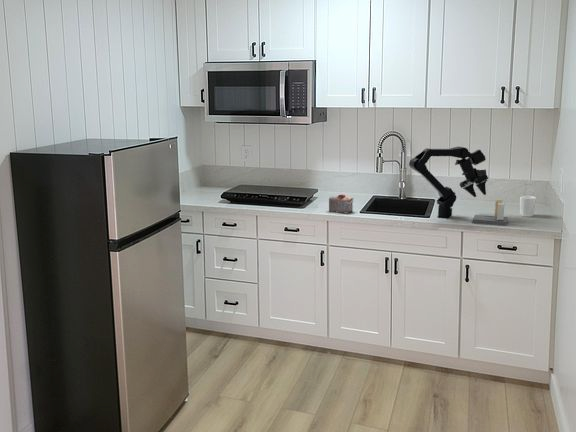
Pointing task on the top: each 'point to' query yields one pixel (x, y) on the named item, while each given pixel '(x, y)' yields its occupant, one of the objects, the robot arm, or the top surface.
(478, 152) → the robot arm
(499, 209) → the grey slider
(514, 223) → the top surface
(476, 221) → the grey slotted board
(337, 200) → the food item
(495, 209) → the amber slider
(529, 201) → the white cup
